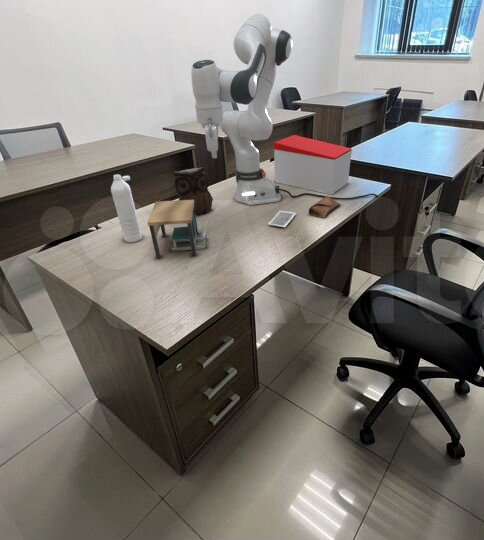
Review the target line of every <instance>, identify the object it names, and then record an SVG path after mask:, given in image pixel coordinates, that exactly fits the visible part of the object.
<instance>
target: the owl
mask: <svg viewBox="0 0 484 540" xmlns="http://www.w3.org/2000/svg"><path fill="white" fill-rule="evenodd" d="M205 170H206V169H205V166H203V167H196V168H194V167H193V168H190V169H189V168H187V169H183V170H180V171H173V176H174V184H173V185H174V188H175V189H174V190H175V191H176V193H177V196H178V200H194V207H195V214H196V217H197V216H201V215H206V214H208V213H209V212H211V211H212V206H213V202H214V198H213V196H212V194H211V192H210V191H209V189H208V188H209V186H210V180H209V177H208V175H207V174H206V173H205Z"/></svg>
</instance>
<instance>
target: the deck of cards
mask: <svg viewBox="0 0 484 540" xmlns="http://www.w3.org/2000/svg"><path fill="white" fill-rule="evenodd" d="M296 215H297V212H293V211H286V210H278V212H277V213H276V214H275V215H274V216H273V218H271V220H270V221H268V223H267V225H268V226H269V225H270V226H274V227H280V228H281V227H282V228H286V227H287V226H288V225H289V224H290V222H291V221H292V220H293V219H294V217H295V216H296Z"/></svg>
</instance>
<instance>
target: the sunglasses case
mask: <svg viewBox="0 0 484 540" xmlns="http://www.w3.org/2000/svg"><path fill="white" fill-rule="evenodd" d="M325 196H326V197H322V198H321V199H320V200H319V201H318V200H317V202H316V203H314V204H313V205H311V206H310V207H309V208H308V214H309V215H310V216H313V217H317V218H326V217H327V216H328V215H329V214H330V213H332V212H333V211H334V210H336V209H338V208H339V207H340V206H341V205H342V203H339V202H338V201H337V200H336V199H332V198H330V197H331V196H329V194H327V195H325Z"/></svg>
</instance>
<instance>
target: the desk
mask: <svg viewBox="0 0 484 540" xmlns="http://www.w3.org/2000/svg"><path fill="white" fill-rule="evenodd" d="M193 212H194V216H195V223H196V234H197V236H198V235H199V228H198V223H197V215H196V214H195V207H194V200H179V199H177V200H162V201H155V202H154V204H153V207H152V210H151V212H150V215H149V217H148V220H147V226H148V227H149V232H150V236H151V240H152V245H153V249H154V253H155V257H156V259H157V260H158V259H161V257H162V256H161V253H160V248H159V244H158V235H159V231H160V230H161V234H162V235H161V236H162V238H166V237H167V232H166V227H165V226H166V225H179V224H180V225H182V224H183V225H184V224H187V225H186V226H187V227H188V231H189V237H190V241H189V242H190V246H191V249H190V250H191V255H192V257H196V256H197V252H196V250H197V249H195V243H194V237H193V230H192V224H191V222H192V216H193Z"/></svg>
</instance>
